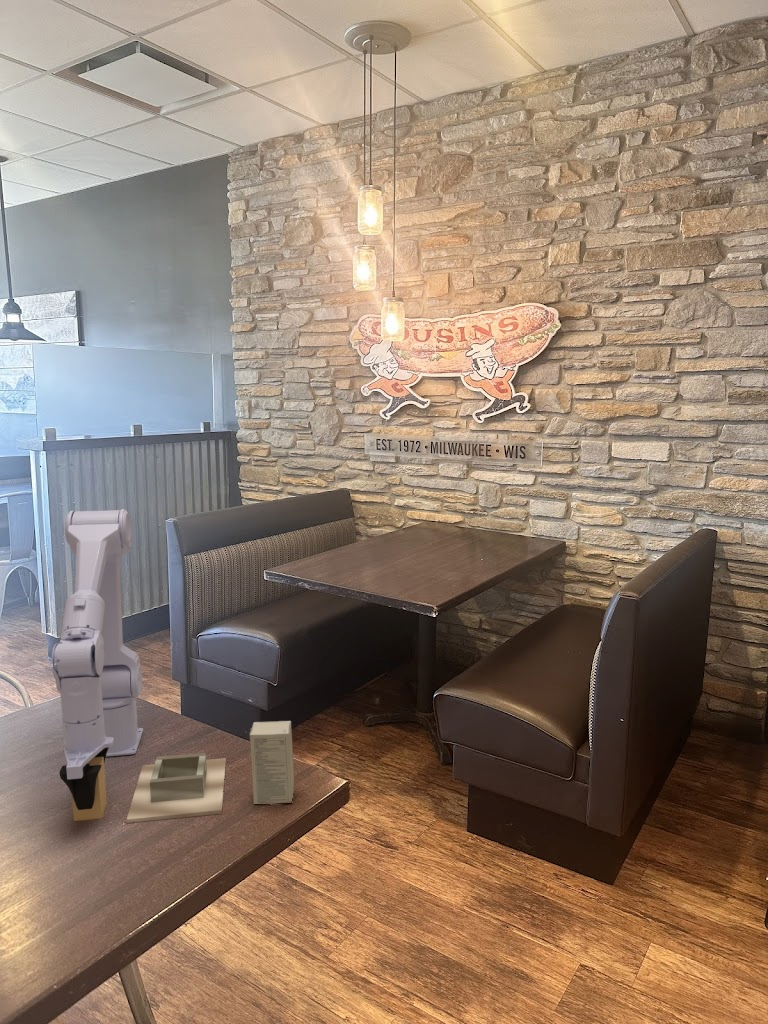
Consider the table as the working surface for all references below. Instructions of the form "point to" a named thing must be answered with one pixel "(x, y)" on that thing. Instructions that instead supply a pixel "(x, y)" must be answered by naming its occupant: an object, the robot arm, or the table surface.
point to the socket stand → (178, 788)
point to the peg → (100, 796)
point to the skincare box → (272, 762)
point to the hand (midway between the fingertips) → (89, 797)
